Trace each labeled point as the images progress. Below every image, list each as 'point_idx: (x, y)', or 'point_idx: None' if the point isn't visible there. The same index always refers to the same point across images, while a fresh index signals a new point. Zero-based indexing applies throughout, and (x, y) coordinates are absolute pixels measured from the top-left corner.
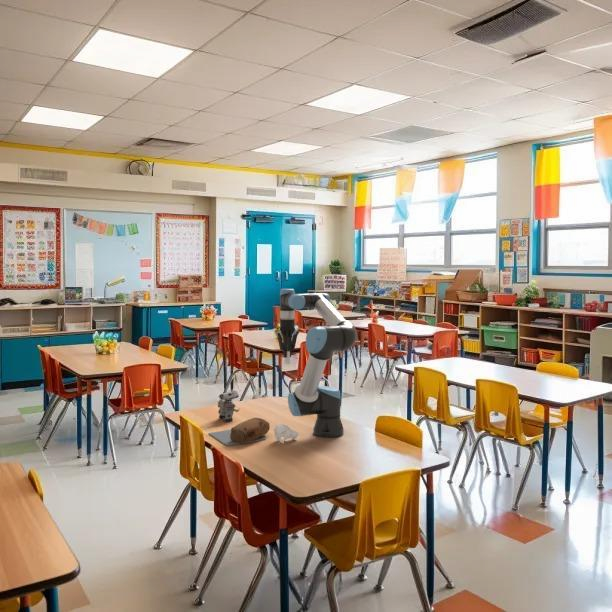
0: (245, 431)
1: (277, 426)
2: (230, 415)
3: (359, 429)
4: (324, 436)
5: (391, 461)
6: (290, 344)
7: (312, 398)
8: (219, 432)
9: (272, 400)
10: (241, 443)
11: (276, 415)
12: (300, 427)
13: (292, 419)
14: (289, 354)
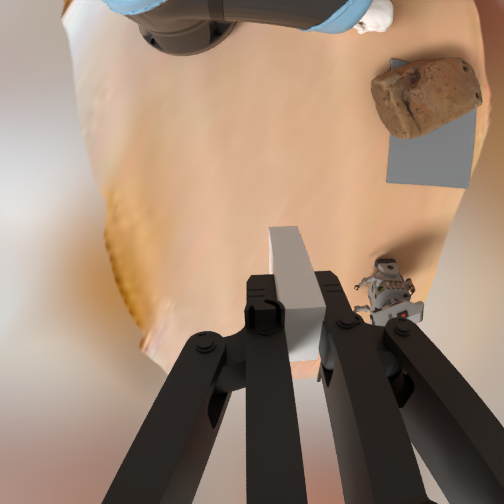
0: (463, 60)
1: (392, 8)
2: (386, 267)
3: (91, 23)
4: None
5: None
6: (275, 408)
7: None
8: (452, 178)
9: None
10: None
11: (243, 254)
12: (237, 100)
13: (217, 193)
14: (283, 281)
